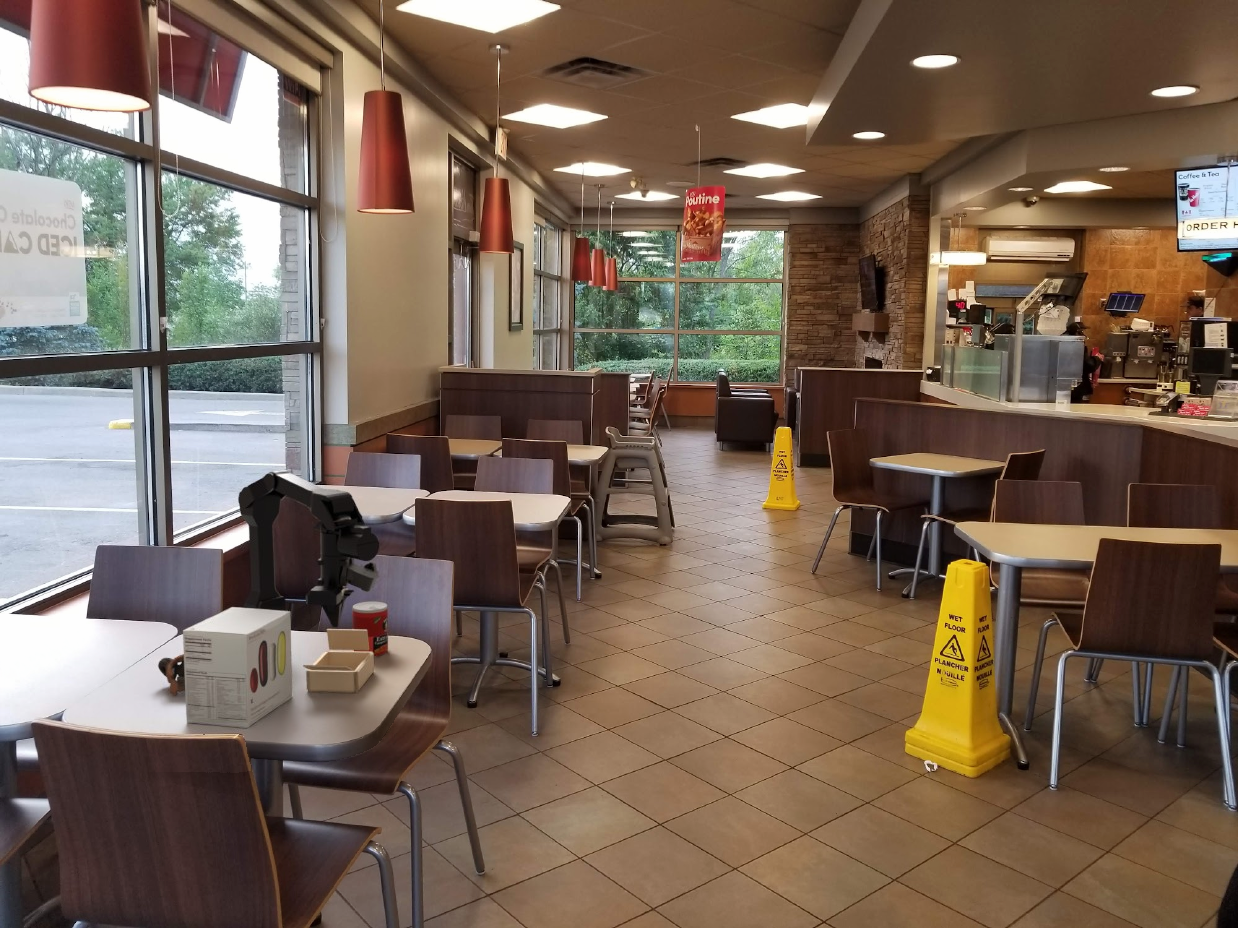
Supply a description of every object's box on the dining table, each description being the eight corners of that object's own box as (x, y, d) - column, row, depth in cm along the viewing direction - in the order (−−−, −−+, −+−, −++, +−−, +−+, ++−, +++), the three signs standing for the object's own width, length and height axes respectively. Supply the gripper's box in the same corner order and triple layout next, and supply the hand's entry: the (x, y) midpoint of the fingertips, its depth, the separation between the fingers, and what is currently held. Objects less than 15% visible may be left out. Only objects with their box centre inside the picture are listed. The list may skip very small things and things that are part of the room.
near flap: (310, 668, 201) (310, 669, 201) (303, 664, 196) (303, 666, 196) (352, 669, 201) (352, 670, 201) (346, 665, 196) (346, 667, 196)
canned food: (379, 658, 223) (378, 611, 222) (347, 655, 225) (346, 608, 224) (394, 648, 231) (393, 602, 229) (362, 645, 232) (361, 600, 231)
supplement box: (250, 729, 183) (246, 634, 180) (184, 723, 185) (180, 630, 182) (295, 696, 200) (292, 609, 197) (234, 691, 202) (231, 605, 199)
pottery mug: (223, 682, 208) (220, 656, 203) (195, 716, 201) (191, 689, 196) (172, 664, 210) (168, 638, 205) (143, 697, 202) (138, 670, 197)
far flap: (326, 629, 212) (327, 628, 212) (329, 649, 214) (329, 648, 214) (366, 630, 212) (367, 629, 212) (368, 650, 213) (369, 649, 214)
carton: (305, 692, 202) (305, 670, 201) (325, 670, 215) (325, 650, 214) (358, 693, 202) (357, 671, 201) (374, 671, 215) (374, 651, 214)
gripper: (360, 565, 193) (361, 642, 195) (386, 544, 211) (386, 615, 214) (304, 563, 193) (305, 640, 195) (334, 542, 212) (335, 613, 214)
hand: (335, 626), depth 205 cm, fingers closed
